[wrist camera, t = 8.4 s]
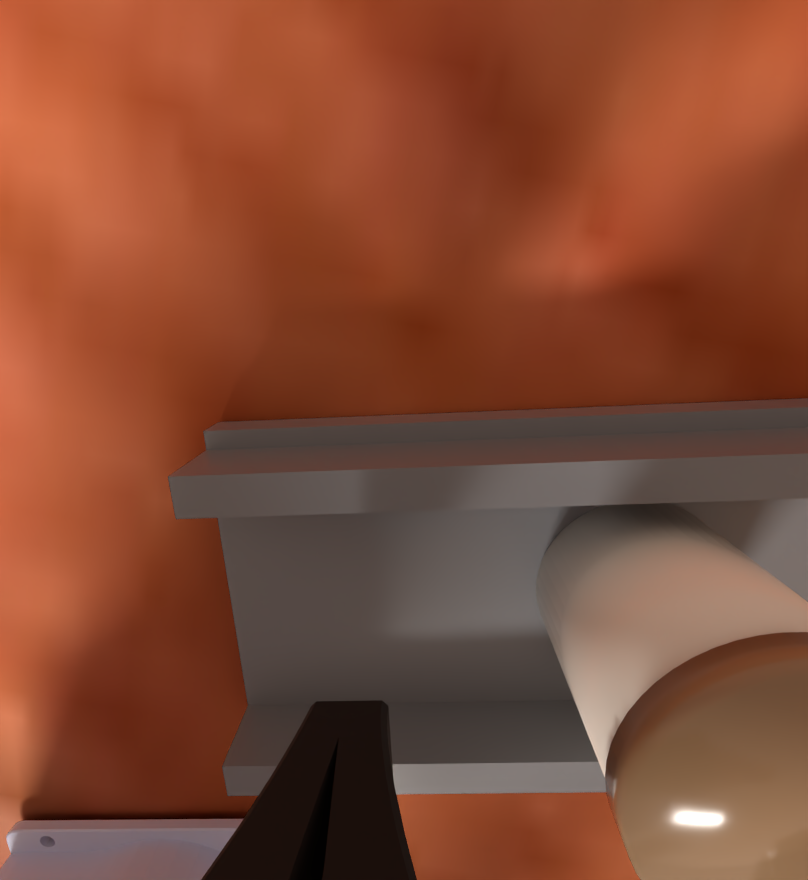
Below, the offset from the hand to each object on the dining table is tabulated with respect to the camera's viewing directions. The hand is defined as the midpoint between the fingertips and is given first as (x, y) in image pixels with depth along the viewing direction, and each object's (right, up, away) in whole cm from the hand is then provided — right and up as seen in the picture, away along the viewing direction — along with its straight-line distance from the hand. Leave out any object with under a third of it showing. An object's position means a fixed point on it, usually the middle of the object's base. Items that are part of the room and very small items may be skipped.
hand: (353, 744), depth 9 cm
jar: (+7, +2, +4) cm, 8 cm away
